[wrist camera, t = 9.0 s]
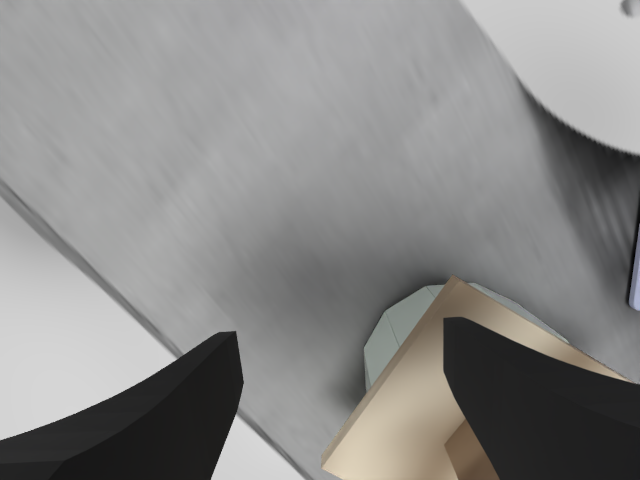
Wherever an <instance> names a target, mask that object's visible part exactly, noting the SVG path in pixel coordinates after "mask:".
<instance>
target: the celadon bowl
mask: <svg viewBox="0 0 640 480" xmlns="http://www.w3.org/2000/svg"><path fill="white" fill-rule="evenodd" d="M468 284H470V285H471V286H473V287H475V288H476V289H478V290H480V291H481V292H483V293H485V294H486V295H488V296H490V297H491V298H493V299H495V300H496V301H498V302H500V303H501V304H503V305H505V306H506V307H508V308H510V309H511V310H513V311H515V312H517V313H518V314H520V315H522V316H523V317H525V318H527V319H528V320H530V321H532V322H533V323H535V324H537V325H538V326H540V327H542V328H543V329H545V330H547V331H548V332H550V333H552V334H553V335H555V336H557V337H558V338H560V339H562V340H564V341H565V342H567V343H569V342H568V340H566V339H565V338H564V337H562V336H561V335H560V334H558V333H557V332H556V331H554V330H553V329H551V328H550V327H549V326H547V325H546V324H545V323H543V322H542V321H541V320H539V319H538V318H536V317H535V316H534V315H532V314H531V313H530V312H528V311H527V310H526V309H524V308H523V307H521V306H520V305H519V304H517V303H516V302H514V301H512V300H510V299H508V298H506V297H504V296H502V295H500V294H497V293H495V292H493V291H491V290H489V289H487V288H485V287H483V286H481V285H478V284H476V283H468ZM444 286H445V285H431V286H425V287H423V288H421V289H420V290H418V291H417V292H415V293H413V294H412V295H410V296H408V297H407V298H405V299H403V300H402V301H400V302H398V303H397V304H395V305H394V306H392V307H390V308H389V309H387V310H385V312H384V313H383V315H382V317H381V319H380V320H379V322H378V324H377V326H376V328H375V329H374V331H373V333H372V335H371V336H370V338H369V340H368V342H367V344H366V345H365V347H364V364H365V382H366V392H368V390H369V389H370V388H371V386H372V385H373V384H374V382H375V381H376V379H377V378H378V377H379V375H380V374H381V373H382V371H383V370H384V368H385V367H386V366H387V364H388V363H389V361H390V360H391V359H392V357H393V356H394V355H395V353H396V352H397V350H398V349H399V348H400V346H401V345H402V344H403V342H404V341H405V339H406V338H407V337H408V335H409V334H410V332H411V331H412V330H413V328H414V327H415V326H416V324H417V323H418V321H419V320H420V319H421V317H422V316H423V315H424V313H425V312H426V310H427V309H428V308H429V306H430V305H431V304H432V302H433V301H434V299H435V298H436V297H437V295H438V294H439V292H440V291H441V290H442V288H443V287H444Z"/></svg>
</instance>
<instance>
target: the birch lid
mask: <svg viewBox="0 0 640 480" xmlns="http://www.w3.org/2000/svg"><path fill="white" fill-rule="evenodd" d="M447 317H464V318H467V319H469V320H471V321H474V322H476V323H478V324H480V325H482V326H484V327H486V328H488V329H490V330H492V331H494V332H496V333H499V334H501V335H503V336H505V337H507V338H509V339H511V340H513V341H515V342H518V343H520V344H522V345H524V346H526V347H529V348H531V349H533V350H536V351H538V352H540V353H543V354H545V355H548V356H550V357H553V358H555V359H558V360H561V361H564V362H566V363H569V364H572V365H575V366H578V367H581V368H584V369H586V370H590V371H593V372H596V373H599V374H602V375H606V376H610V377H613V378H617V379H620V380H624V381H628V382H631V383H634V382H632V381H631V380H629V379H627V378H626V377H624V376H622V375H621V374H619V373H617V372H616V371H614V370H612V369H611V368H609V367H607V366H605V365H604V364H602V363H600V362H599V361H597V360H595V359H594V358H592V357H590V356H589V355H587V354H585V353H584V352H582V351H580V350H579V349H577V348H575V347H574V346H572V345H570V344H569V343H567V342H565V341H564V340H562V339H560V338H558V337H557V336H555V335H553V334H552V333H550V332H548V331H547V330H545V329H543V328H542V327H540V326H538V325H537V324H535V323H533V322H532V321H530V320H528V319H527V318H525V317H523V316H522V315H520V314H518V313H517V312H515V311H513V310H511V309H510V308H508V307H506V306H505V305H503V304H501V303H500V302H498V301H496V300H495V299H493V298H491V297H490V296H488V295H486V294H485V293H483V292H481V291H480V290H478V289H476V288H475V287H473V286H471V285H470V284H468V283H466V282H464V281H463V280H461V279H459V278H458V277H456V276H454V275H452V276H451V277H450V279H449V280H448V281H447V283H446V284H445V286H444V287H443V288H442V290H441V291H440V292H439V294H438V295H437V297H436V298H435V299H434V301H433V302H432V304H431V305H430V306H429V308H428V309H427V310H426V312H425V313H424V315H423V316H422V317H421V319H420V320H419V321H418V323H417V324H416V326H415V327H414V328H413V330H412V331H411V332H410V334H409V335H408V337H407V338H406V339H405V341H404V342H403V344H402V345H401V346H400V348H399V349H398V350H397V352H396V353H395V355H394V356H393V357H392V359H391V360H390V361H389V363H388V364H387V366H386V367H385V368H384V370H383V371H382V373H381V374H380V375H379V377H378V378H377V379H376V381H375V382H374V384H373V385H372V386H371V388H370V389H369V390H368V392H367V393H366V395H365V396H364V397H363V399H362V400H361V401H360V403H359V404H358V406H357V407H356V408H355V410H354V411H353V413H352V414H351V415H350V417H349V418H348V419H347V421H346V422H345V424H344V425H343V426H342V428H341V429H340V430H339V432H338V433H337V435H336V436H335V437H334V439H333V440H332V442H331V443H330V444H329V446H328V447H327V448H326V450H325V451H324V453H323V454H322V461H321V469H323V470H325V471H327V472H329V473H331V474H333V475H335V476H337V477H339V478H341V479H343V480H500V479H499V477H498V475H497V473H496V471H495V470H494V468H493V466H492V464H491V462H490V460H489V458H488V457H487V455H486V453H485V451H484V450H483V448H482V446H481V444H480V443H479V441H478V439H477V437H476V436H475V434H474V432H473V430H472V429H471V427H470V425H469V423H468V422H467V420H466V418H465V416H464V415H463V413H462V411H461V409H460V408H459V406H458V404H457V402H456V400H455V398H454V396H453V394H452V392H451V389H450V387H449V384H448V382H447V379H446V377H445V374H444V372H443V318H447ZM635 384H636V383H635Z"/></svg>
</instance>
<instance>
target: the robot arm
mask: <svg viewBox="0 0 640 480" xmlns="http://www.w3.org/2000/svg"><path fill="white" fill-rule="evenodd" d="M629 305H630V307H632V308H634V309H636V310H639V311H640V225H639V233H638V240H637V247H636V254H635V262H634V269H633V276H632V283H631V291H630V298H629ZM443 372H444V374H445V377H446V379H447V382H448V384H449V387H450V389H451V392H452V394H453V396H454V398H455V400H456V402H457V404H458V406H459V408H460V409H461V411H462V413H463V415H464V416H465V418H466V420H467V422H468V423H469V425H470V427H471V429H472V430H473V432H474V434H475V436H476V437H477V439H478V441H479V443H480V444H481V446H482V448H483V450H484V451H485V453H486V455H487V457H488V458H489V460H490V462H491V464H492V466H493V468H494V470H495V471H496V473H497V475H498V477H499V479H500V480H640V385H639V384H635V383H631V382H628V381H624V380H620V379H617V378H613V377H610V376H606V375H602V374H599V373H596V372H593V371H590V370H586V369H584V368H581V367H578V366H575V365H572V364H569V363H566V362H564V361H561V360H558V359H555V358H553V357H550V356H548V355H545V354H543V353H540V352H538V351H536V350H533V349H531V348H529V347H526V346H524V345H522V344H520V343H518V342H515V341H513V340H511V339H509V338H507V337H505V336H503V335H501V334H499V333H496V332H494V331H492V330H490V329H488V328H486V327H484V326H482V325H480V324H478V323H476V322H474V321H471V320H469V319H467V318H464V317H447V318H443ZM243 384H244V381H243V374H242V367H241V361H240V354H239V348H238V341H237V334H236V331H232V332H219V333H217V334H215V335H213V336H211V337H210V338H208V339H207V340H205V341H204V342H202V343H201V344H199V345H198V346H196V347H195V348H193V349H192V350H191V351H189V352H188V353H186V354H185V355H183V356H182V357H180V358H179V359H177V360H176V361H174V362H173V363H171V364H169V365H168V366H166V367H165V368H163V369H161V370H160V371H158V372H157V373H155V374H154V375H152V376H150V377H149V378H147V379H145V380H144V381H142V382H140V383H138V384H136V385H135V386H133V387H131V388H129V389H127V390H125V391H123V392H121V393H119V394H117V395H115V396H113V397H112V398H109V399H107V400H105V401H102V402H100V403H98V404H96V405H94V406H91V407H89V408H87V409H85V410H82V411H80V412H78V413H76V414H73V415H71V416H68V417H66V418H63V419H60V420H58V421H56V422H53V423H50V424H48V425H45V426H42V427H39V428H36V429H34V430H31V431H28V432H25V433H22V434H19V435H16V436H13V437H10V438H6V439H3V440H0V480H211V477H212V474H213V472H214V469H215V467H216V464H217V462H218V459H219V456H220V454H221V451H222V449H223V446H224V443H225V441H226V438H227V436H228V433H229V431H230V428H231V425H232V423H233V420H234V417H235V415H236V412H237V409H238V405H239V401H240V397H241V393H242V388H243Z"/></svg>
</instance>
